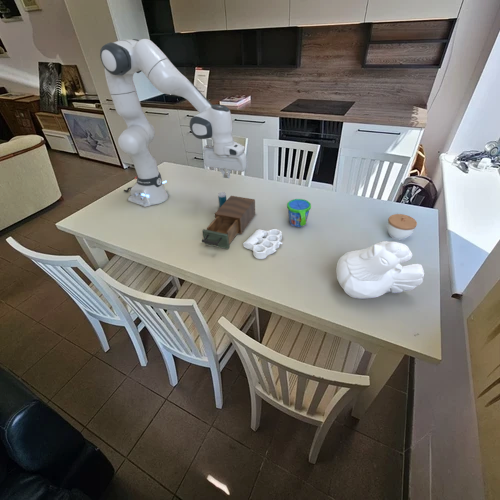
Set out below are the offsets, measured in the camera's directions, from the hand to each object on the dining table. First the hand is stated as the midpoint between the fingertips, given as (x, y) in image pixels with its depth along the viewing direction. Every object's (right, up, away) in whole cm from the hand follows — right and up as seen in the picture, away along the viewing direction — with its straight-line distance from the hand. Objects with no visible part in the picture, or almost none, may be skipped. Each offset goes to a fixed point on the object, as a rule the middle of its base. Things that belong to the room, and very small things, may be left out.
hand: (226, 177), depth 128 cm
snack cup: (+33, -21, +3) cm, 39 cm away
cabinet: (+4, -20, +6) cm, 21 cm away
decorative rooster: (+53, -49, -32) cm, 78 cm away
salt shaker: (-3, -11, +17) cm, 21 cm away
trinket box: (+75, -27, -7) cm, 80 cm away
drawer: (-1, -28, -5) cm, 29 cm away
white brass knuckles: (+17, -32, -9) cm, 37 cm away
